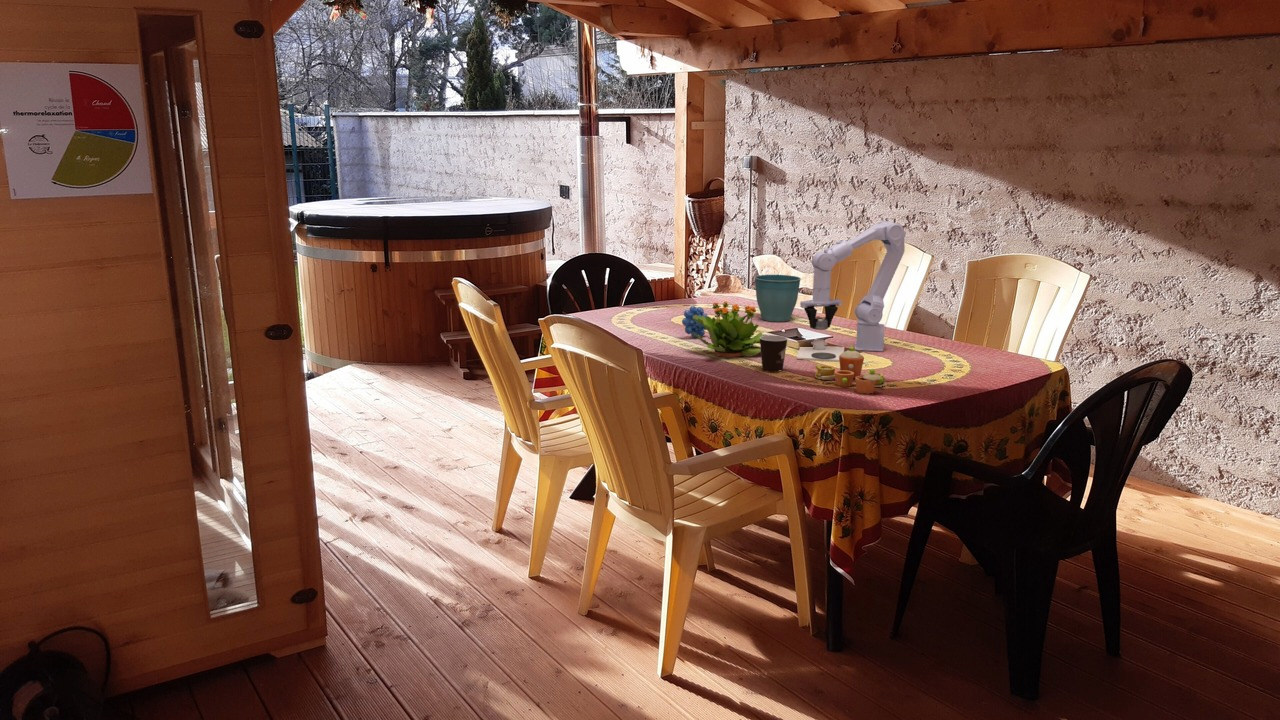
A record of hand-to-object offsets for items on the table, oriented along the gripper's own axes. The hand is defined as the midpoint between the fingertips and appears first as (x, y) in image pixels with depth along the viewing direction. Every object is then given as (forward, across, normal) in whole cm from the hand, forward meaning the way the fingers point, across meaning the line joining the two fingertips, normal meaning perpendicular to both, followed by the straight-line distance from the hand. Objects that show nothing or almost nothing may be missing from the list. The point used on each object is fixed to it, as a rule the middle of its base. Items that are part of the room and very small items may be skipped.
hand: (820, 327), depth 323 cm
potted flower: (+8, +33, -4) cm, 34 cm away
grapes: (+8, +33, -31) cm, 46 cm away
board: (+8, +2, +5) cm, 10 cm away
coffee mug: (+8, +25, +19) cm, 33 cm away
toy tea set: (+9, +10, +42) cm, 44 cm away
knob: (0, 0, 0) cm, 0 cm away
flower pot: (+8, -10, -55) cm, 57 cm away
